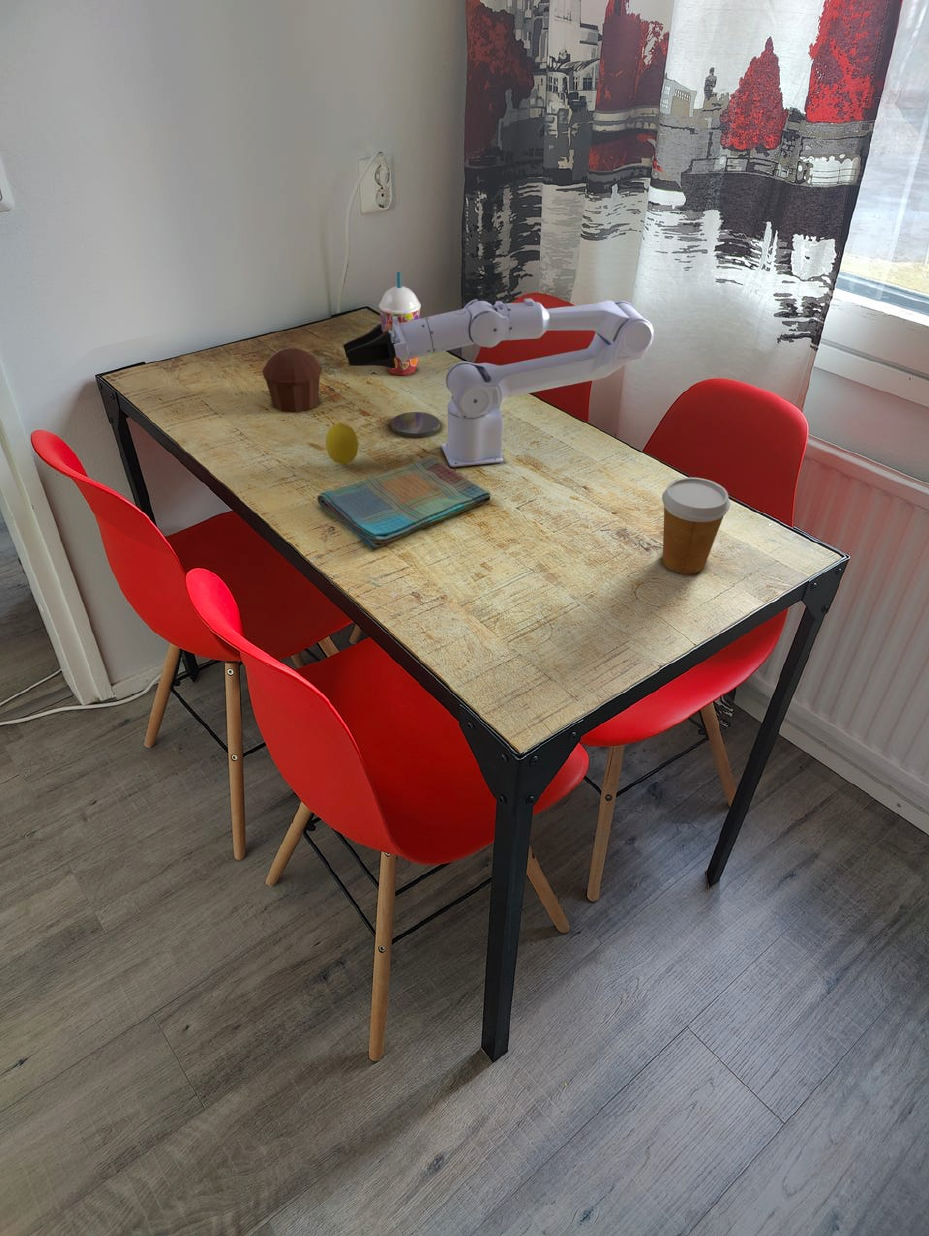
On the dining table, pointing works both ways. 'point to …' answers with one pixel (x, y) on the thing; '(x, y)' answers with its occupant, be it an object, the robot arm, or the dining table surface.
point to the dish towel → (402, 501)
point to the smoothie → (399, 318)
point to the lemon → (341, 443)
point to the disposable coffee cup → (691, 522)
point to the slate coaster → (415, 424)
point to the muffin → (293, 380)
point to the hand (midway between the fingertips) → (346, 354)
